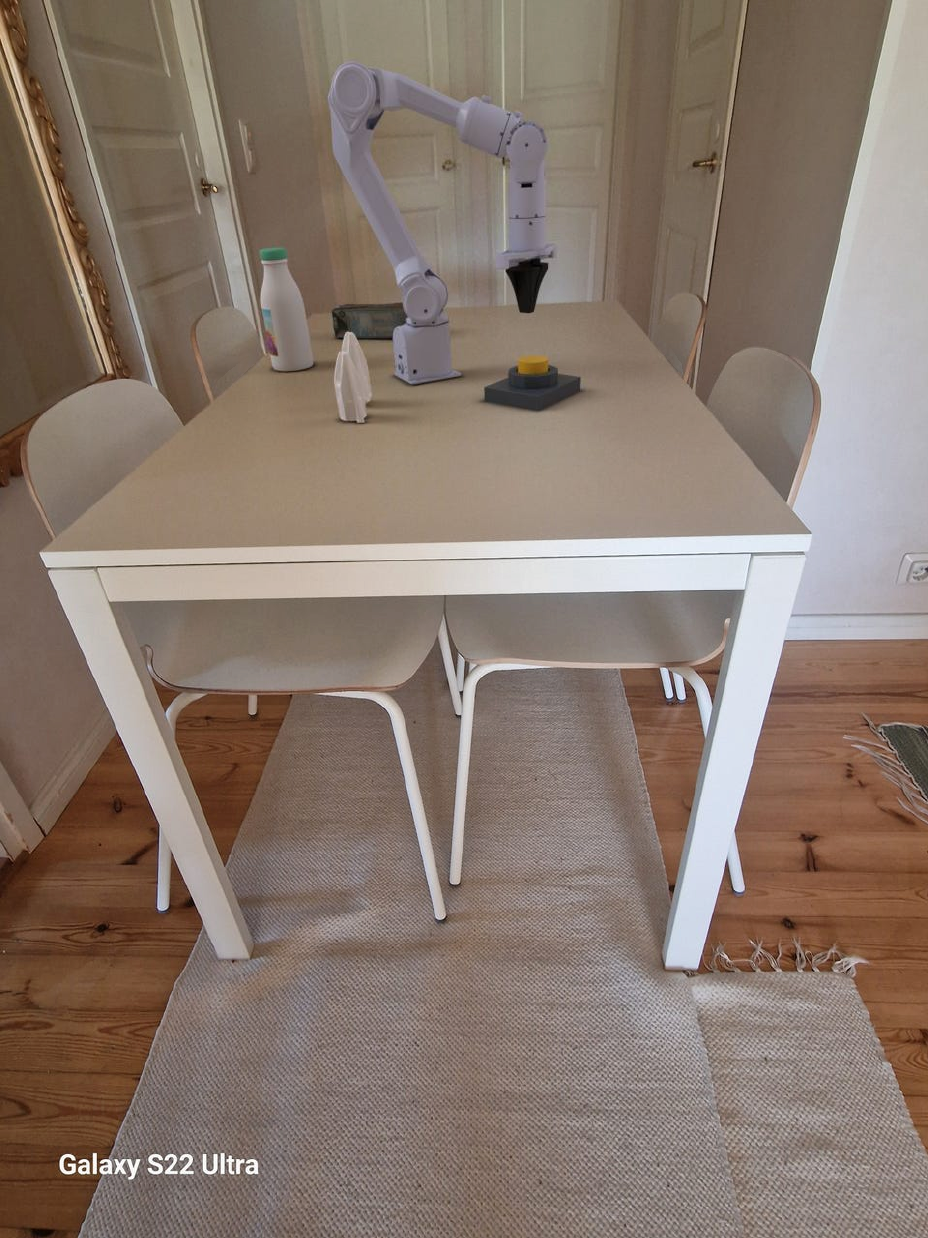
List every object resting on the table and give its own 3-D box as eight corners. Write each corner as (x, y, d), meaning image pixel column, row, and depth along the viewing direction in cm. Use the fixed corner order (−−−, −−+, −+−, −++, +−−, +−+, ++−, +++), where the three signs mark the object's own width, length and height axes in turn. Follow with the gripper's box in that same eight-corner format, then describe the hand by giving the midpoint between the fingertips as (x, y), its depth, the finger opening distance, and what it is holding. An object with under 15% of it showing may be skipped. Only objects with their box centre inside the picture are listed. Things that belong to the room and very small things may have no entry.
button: (537, 378, 103) (537, 363, 102) (512, 374, 105) (512, 360, 104) (553, 371, 106) (554, 357, 105) (529, 367, 108) (529, 353, 107)
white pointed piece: (349, 400, 110) (339, 326, 104) (375, 399, 110) (366, 325, 104) (336, 424, 100) (324, 344, 94) (365, 423, 100) (354, 343, 94)
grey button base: (538, 411, 101) (538, 383, 99) (484, 401, 106) (483, 374, 104) (580, 390, 109) (581, 364, 106) (527, 382, 114) (528, 357, 112)
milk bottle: (318, 361, 133) (300, 245, 122) (307, 371, 127) (286, 249, 116) (280, 362, 134) (258, 246, 123) (267, 372, 128) (243, 251, 117)
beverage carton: (348, 331, 156) (344, 299, 153) (428, 332, 151) (426, 299, 148) (333, 339, 150) (329, 306, 146) (416, 340, 145) (413, 306, 141)
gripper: (521, 221, 99) (521, 322, 106) (574, 212, 108) (570, 306, 115) (482, 221, 103) (485, 318, 110) (536, 212, 112) (535, 303, 119)
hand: (526, 312), depth 113 cm, fingers closed
